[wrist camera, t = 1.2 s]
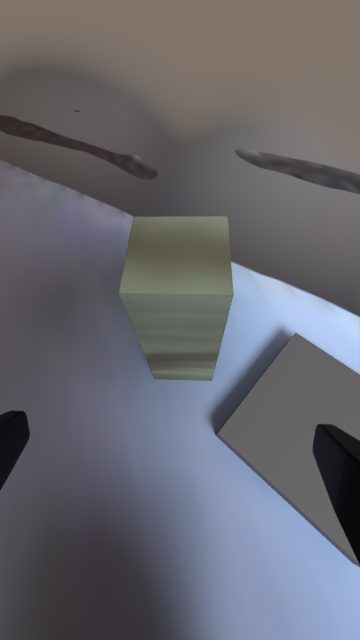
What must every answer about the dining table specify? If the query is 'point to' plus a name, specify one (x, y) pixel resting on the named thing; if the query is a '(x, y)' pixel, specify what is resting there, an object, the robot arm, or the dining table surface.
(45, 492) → the dining table surface
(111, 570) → the dining table surface
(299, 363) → the base board
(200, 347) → the green post
